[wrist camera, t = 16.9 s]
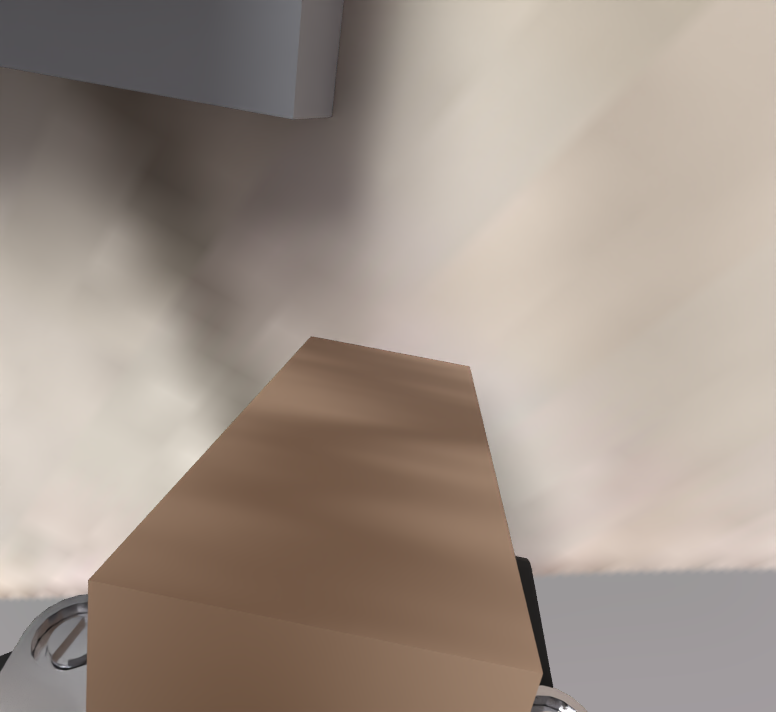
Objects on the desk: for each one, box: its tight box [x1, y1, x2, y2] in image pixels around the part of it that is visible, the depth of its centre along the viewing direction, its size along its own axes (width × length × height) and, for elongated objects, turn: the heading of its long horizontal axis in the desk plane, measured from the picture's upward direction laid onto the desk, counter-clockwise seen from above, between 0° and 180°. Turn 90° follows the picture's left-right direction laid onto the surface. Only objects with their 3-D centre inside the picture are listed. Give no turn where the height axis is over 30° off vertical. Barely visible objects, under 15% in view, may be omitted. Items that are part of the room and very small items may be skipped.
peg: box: [86, 336, 543, 712], centre depth 9 cm, size 4×4×9 cm
